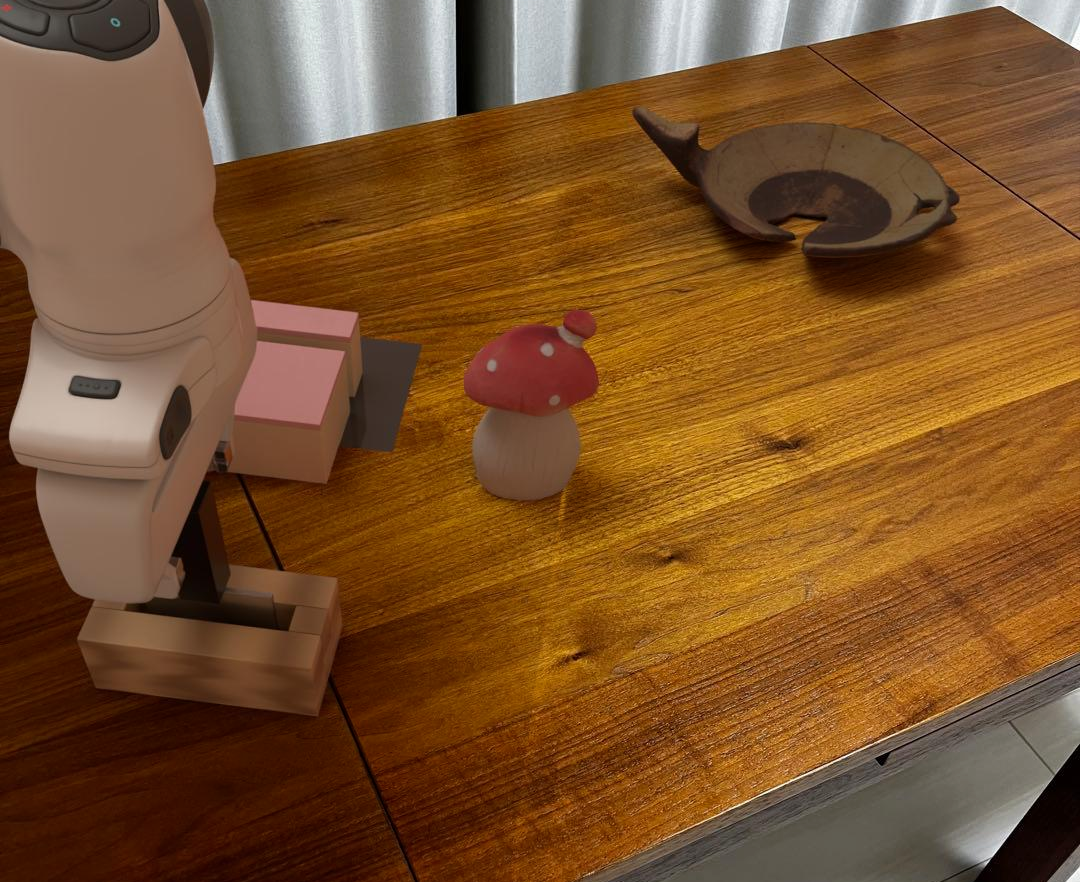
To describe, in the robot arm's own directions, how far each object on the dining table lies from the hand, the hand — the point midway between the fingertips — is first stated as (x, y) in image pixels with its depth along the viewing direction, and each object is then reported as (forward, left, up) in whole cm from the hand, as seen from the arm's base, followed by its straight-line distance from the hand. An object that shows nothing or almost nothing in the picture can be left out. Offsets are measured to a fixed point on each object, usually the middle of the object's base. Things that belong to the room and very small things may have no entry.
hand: (193, 522), depth 66 cm
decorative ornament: (+17, +20, -14) cm, 30 cm away
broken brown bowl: (+38, +60, -14) cm, 72 cm away
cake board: (-2, +24, -14) cm, 28 cm away
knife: (0, 0, -13) cm, 13 cm away
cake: (-2, +20, -13) cm, 24 cm away
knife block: (0, 0, -14) cm, 14 cm away
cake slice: (-2, +27, -13) cm, 30 cm away
